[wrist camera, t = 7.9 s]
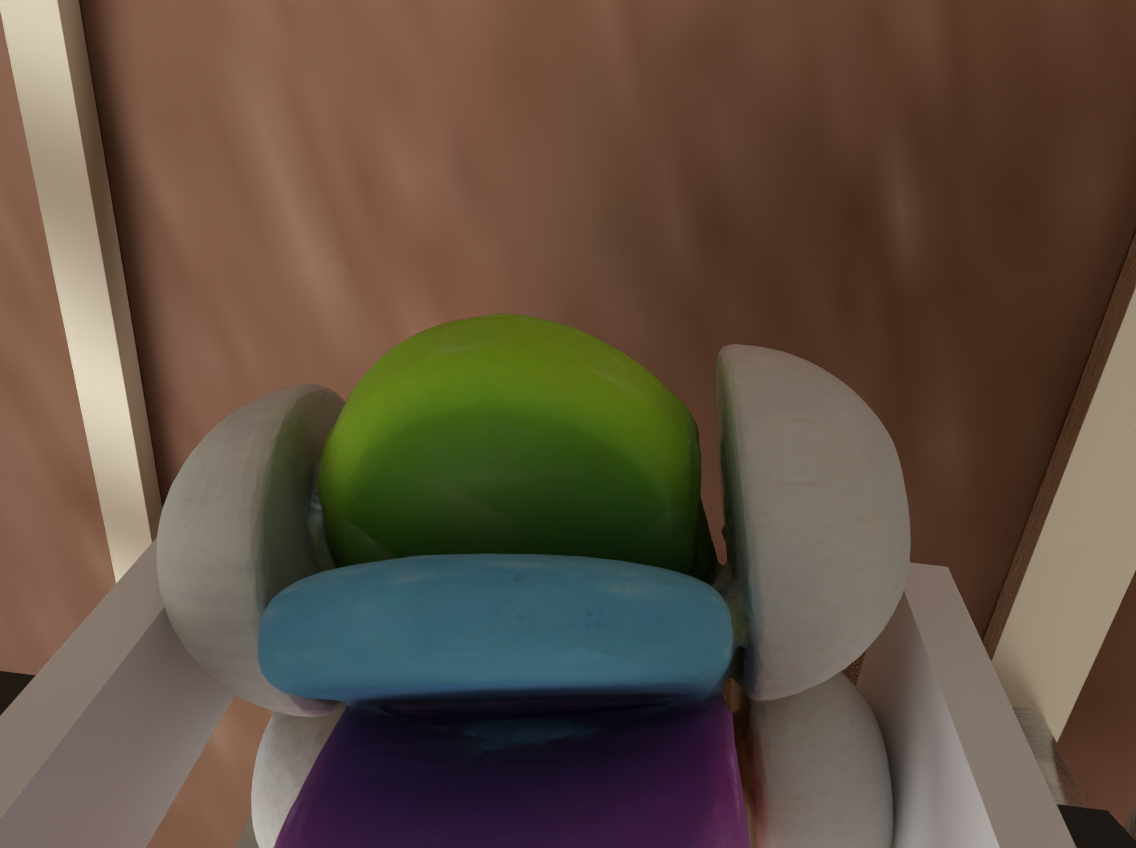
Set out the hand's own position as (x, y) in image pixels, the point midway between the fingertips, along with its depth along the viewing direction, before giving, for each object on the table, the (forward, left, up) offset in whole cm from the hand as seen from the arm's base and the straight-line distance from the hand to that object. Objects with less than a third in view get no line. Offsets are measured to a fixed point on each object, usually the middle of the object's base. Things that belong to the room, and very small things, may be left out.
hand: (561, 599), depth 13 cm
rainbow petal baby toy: (0, 0, 0) cm, 1 cm away
